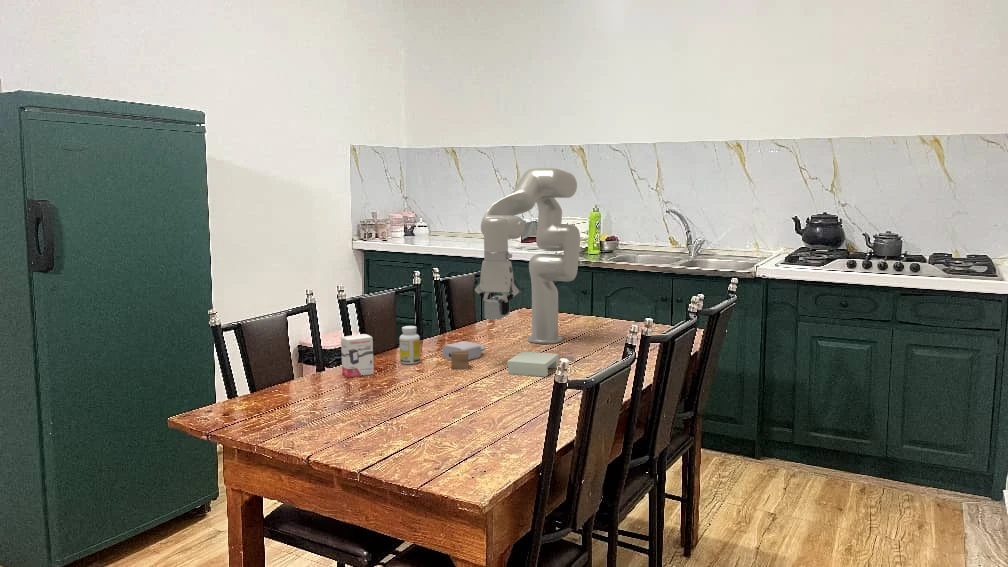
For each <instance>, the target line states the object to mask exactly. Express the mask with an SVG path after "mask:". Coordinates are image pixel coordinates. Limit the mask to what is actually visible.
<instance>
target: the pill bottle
mask: <svg viewBox="0 0 1008 567" xmlns="http://www.w3.org/2000/svg"><path fill="white" fill-rule="evenodd" d="M417 329H418V328H417V326H415V325H405V326H402V327H401V331H402V334H401V335H400V336H399V338H398V340H399V361H400V363H401V364H404V365H415V364H419V363H420V362H421V338H420V337H421V336H420V335H419V334H418V333H417Z"/></svg>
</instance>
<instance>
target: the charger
mask: <svg viewBox="0 0 1008 567" xmlns="http://www.w3.org/2000/svg"><path fill="white" fill-rule="evenodd" d="M486 347H487V346H486V345H483V344H480V343H476V342H470V341H465V340H463V341H458V342H454V343H448V344H445V345H442V347H441V348H442V349H441V350H442V358H443V359H444V358H446V359H445V360H449V359H450V361H451V353H452V351H457V350H468V361H472V360H475V359H477V358H478V359H480V358H481V357H482V352H483V351H486Z"/></svg>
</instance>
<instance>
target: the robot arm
mask: <svg viewBox="0 0 1008 567" xmlns="http://www.w3.org/2000/svg"><path fill="white" fill-rule="evenodd" d="M577 189H578V182H577V178H576V177H575V176H574V175H573V173H571V172H567V171H565V170H562V169H560V168H559V169H558V168H554V167H551V168H550V167H549V168H548V167H547V168H545V167H543V168H542V167H541V168H540V167H538V168H529V169H528V170H526V171H525V172H524V174H523V175H522V177H521V178H520V180H519V181H518V183H517V185H516V186H515V188H514V190H513V191H512V192H511V193H509V194H508V195H505V196H503V197H501V199H499V200H496V201H495V202H494V203H492V204H491V205H490V206H489V207H488V209H487V210H486V212H485V213H484V216H483V218H482V219H481V223H480V231H481V233H482V234H481V235H483V258H484V259H483V260H482V263H481V268H480V275H479V276H480V280H479V283H478V285H477V286H476V287H475V288H474V292H476V294H478V295H479V297H480V298H481V299H482V300H483V302H486V300H487V299H489V298H491V297H492V295H491V294H492V293H493V294H502V295H501V296H503V298H504V302H503V315H506V314H508V312H509V301H510V302H511V300H512V299H513V298H515V296H517V295H518V294H519V293H520V290H519V288H518V287H517V286H516V284H515V280H514V271H513V265H512V260H509V259H512V258H513V253H510V252H509V240H516V239H519V238H521V237H522V236H523V235H524V233H525V230H526V224H525V221H524V219H523V218H522V217H521V216H518V215H520V214H524V213H526V212H530V211H531V210H533V208H534V207H535V205H536V206H537V209H538V210H537V211H538V216H537V224H536V225H537V226H536V234H535V235H536V237H535V238H536V239H535V241H536V242H535V243H536V245H537V248H538V249H541V250H544V251H555V252H556V251H558V252H561V251H562V252H563V254H561V253H560V254H559V253H556V254H555V253H537V254H534V255H533V256H531V258H530V259H529V262H528V270H529V271H528V272H529V276H530V282H531V335H529V336H528V337H527V341H528V342H529V343H533V344H543V345H545V344H547V345H548V344H557V343H561V342H562V341H563V336H561V335H559V291H558V287H557V286H556V285H555V283H554V282H572V281H574V280H575V279H576V277H577V274H578V270H579V268H578V267H579V260H580V259H579V258H580V250H581V233H580V230H579V228H578V227H577V226H576V225H574V224H570V223H569V224H567V223H562V220H563V210H562V208H561V205H560V203H559V201H557V200H556V198H558V199H566V198H567V199H568V198H572V197H573V196H574V195H575V194H576V192H577ZM510 292H511V293H510Z"/></svg>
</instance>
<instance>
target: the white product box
mask: <svg viewBox="0 0 1008 567" xmlns="http://www.w3.org/2000/svg"><path fill="white" fill-rule="evenodd" d="M340 345H341V347H340V349H341V350H340V352H341V368H342V369H341V371H342V373H341V374H342V376H344V377H346V378H348V379H349V378H355V377H360V376H361V377H362V375H363V376H367V375H368V376H369V375H374V374H375V372H374V349H373V348H374V341H373V336H371V335H369V334H367V333H362V334H354V335H346V336H342V337H340Z"/></svg>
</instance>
